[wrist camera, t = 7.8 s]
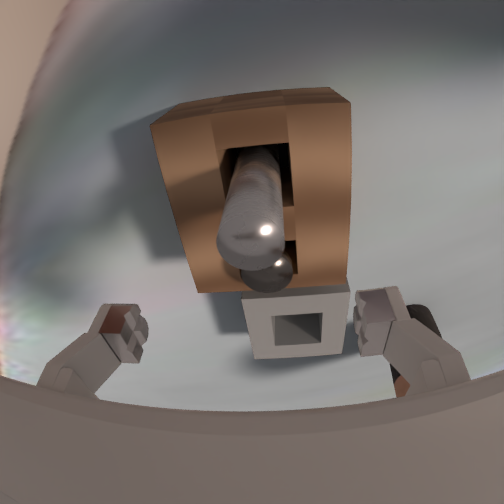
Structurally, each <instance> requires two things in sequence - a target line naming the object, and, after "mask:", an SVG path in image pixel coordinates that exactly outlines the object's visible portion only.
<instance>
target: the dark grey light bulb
mask: <svg viewBox="0 0 504 504" xmlns="http://www.w3.org/2000/svg"><path fill="white" fill-rule="evenodd" d="M241 277H242V280H243V282H244V283H245V284H246V285H247V286H248V287H249V288H251V289H252V290H254V291H257V292H261V293H273V292H277V291H280V290H282V289H284V288H285V287H287V286H288V285H289V283H290V282H291V280H292V277H293V268H292V260H291V258H290V256H289V255H288V253H287V252H286V251H283V254H282V256H281V257H280V259H279V260H278V261H277V262H276V263H274V264H273V265H271V266H270V267H267V268H265V269H261V270H255V271H249V270H242V269H241Z"/></svg>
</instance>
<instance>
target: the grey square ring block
mask: <svg viewBox="0 0 504 504" xmlns="http://www.w3.org/2000/svg"><path fill="white" fill-rule="evenodd" d="M349 299H350V289H349V285H348V281H347V277H346V284H337V285H325V286H312V287H298V288H284V289H282V290H280V291H277V292H273V293H261V292H257V291H254V290H250V291H242V297H241V301H242V305H243V310H244V314H245V319H246V323H247V328H248V332H249V337H250V341H251V346H252V350H253V354H254V359H273V358H292V357H308V356H321V355H332V354H342V349H343V343H344V336H345V329H346V322H347V315H348V307H349Z"/></svg>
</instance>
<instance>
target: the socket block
mask: <svg viewBox="0 0 504 504" xmlns="http://www.w3.org/2000/svg"><path fill="white" fill-rule="evenodd" d="M150 129H151V133H152V137H153V141H154V145H155V149H156V153H157V157H158V161H159V164H160V168H161V172H162V176H163V179H164V183H165V186H166V190H167V194H168V197H169V201H170V204H171V208H172V211H173V215H174V218H175V221H176V225H177V228H178V231H179V235H180V238H181V241H182V244H183V248H184V251H185V254H186V257H187V260H188V264H189V267H190V270H191V273H192V276H193V279H194V282H195V285H196V288H197V291H198V293H211V292H232V291H250V290H252V289H251V288H249V287H248V286H247V285H246V284H245V283H244V282H243V280H242V277H241V269H239V268H236V267H234V266H232V265H230V264H229V263H227V262H226V261H225V260H224V259H223V258H222V257H221V255H220V254H219V252H218V249H217V245H216V238H217V233H218V229H219V225H220V221H221V218H222V214H223V210H224V206H225V202H226V198H227V194H228V190H229V187H230V183H231V179H232V175H233V172H234V168H235V164H236V160H235V154H234V148H236V147H245V146H254V145H264V144H275V143H287V153H288V164H289V167H280V175H281V190H282V205H283V220H284V237H285V247H284V251H286V252H287V253H288V255H289V256H290V258H291V260H292V268H293V277H292V280H291V282H290V283H289V285H288V286H287V287H285V288H298V287H312V286H325V285H337V284H346V274H347V262H348V248H349V231H350V210H351V173H352V137H351V103H350V102H349V101H348V100H346V99H345V98H344V97H342V96H341V95H339V94H338V93H337V92H335V91H334V90H332V89H331V88H330V87H321V88H299V89H284V90H272V91H262V92H252V93H244V94H236V95H229V96H222V97H215V98H209V99H203V100H197V101H192V102H186V103H181V104H178V105H177V106H175V107H174V108H173V109H171V110H170V111H168V112H167V113H166V114H164V115H163V116H162V117H160V118H159V119H158V120H156V121H155V122H154V123H152V124H151V125H150Z"/></svg>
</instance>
